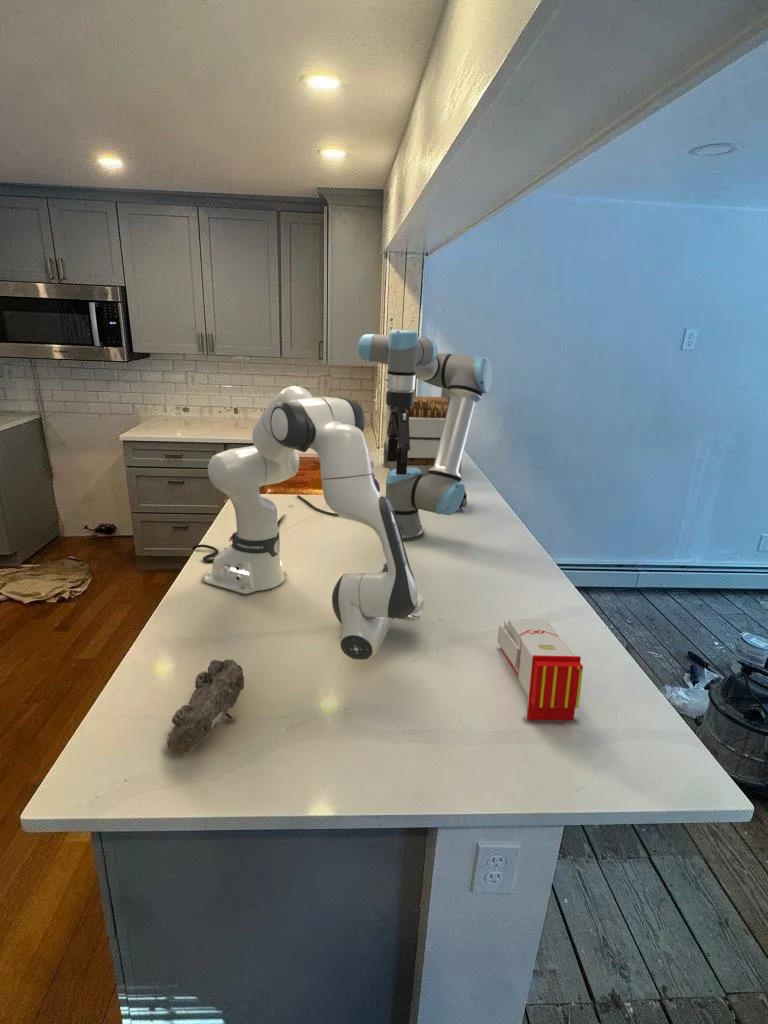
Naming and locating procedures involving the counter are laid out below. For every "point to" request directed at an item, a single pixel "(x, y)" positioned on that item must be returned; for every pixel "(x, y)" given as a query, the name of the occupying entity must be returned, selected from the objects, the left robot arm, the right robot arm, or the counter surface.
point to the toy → (542, 668)
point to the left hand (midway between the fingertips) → (389, 587)
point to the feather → (280, 520)
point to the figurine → (375, 479)
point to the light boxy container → (422, 430)
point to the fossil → (206, 705)
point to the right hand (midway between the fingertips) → (396, 467)
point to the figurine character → (463, 502)
